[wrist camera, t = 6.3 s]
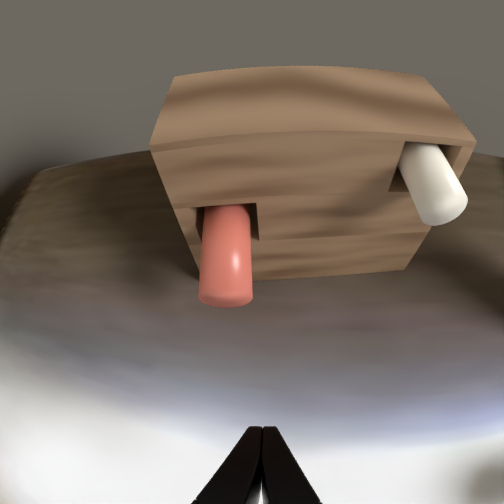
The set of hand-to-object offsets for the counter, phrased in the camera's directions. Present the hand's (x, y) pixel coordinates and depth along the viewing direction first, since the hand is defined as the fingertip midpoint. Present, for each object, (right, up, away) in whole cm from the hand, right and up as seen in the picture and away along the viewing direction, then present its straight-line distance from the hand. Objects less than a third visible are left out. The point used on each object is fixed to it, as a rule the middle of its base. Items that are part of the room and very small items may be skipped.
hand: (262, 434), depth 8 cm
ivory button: (+10, +10, +9) cm, 17 cm away
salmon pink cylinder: (-2, +5, +12) cm, 13 cm away
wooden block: (+4, +7, +20) cm, 22 cm away
